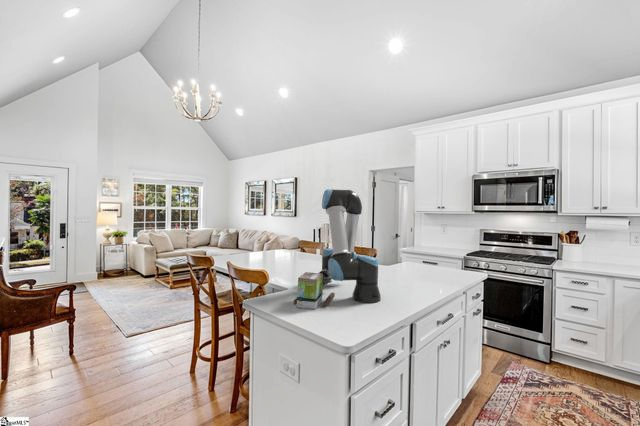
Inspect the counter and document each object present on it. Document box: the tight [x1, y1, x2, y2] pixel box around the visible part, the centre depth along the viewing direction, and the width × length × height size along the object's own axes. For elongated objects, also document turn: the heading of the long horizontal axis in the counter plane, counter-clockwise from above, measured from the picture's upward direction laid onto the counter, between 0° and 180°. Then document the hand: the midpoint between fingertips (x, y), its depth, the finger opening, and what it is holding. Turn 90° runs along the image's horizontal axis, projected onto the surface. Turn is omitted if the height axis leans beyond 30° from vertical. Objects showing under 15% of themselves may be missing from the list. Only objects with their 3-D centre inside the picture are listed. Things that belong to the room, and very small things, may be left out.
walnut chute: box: [293, 292, 336, 309], centre depth 162 cm, size 17×20×2 cm
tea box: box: [296, 271, 324, 310], centre depth 155 cm, size 15×10×15 cm, turn 168°
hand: (313, 285), depth 163 cm, fingers closed
